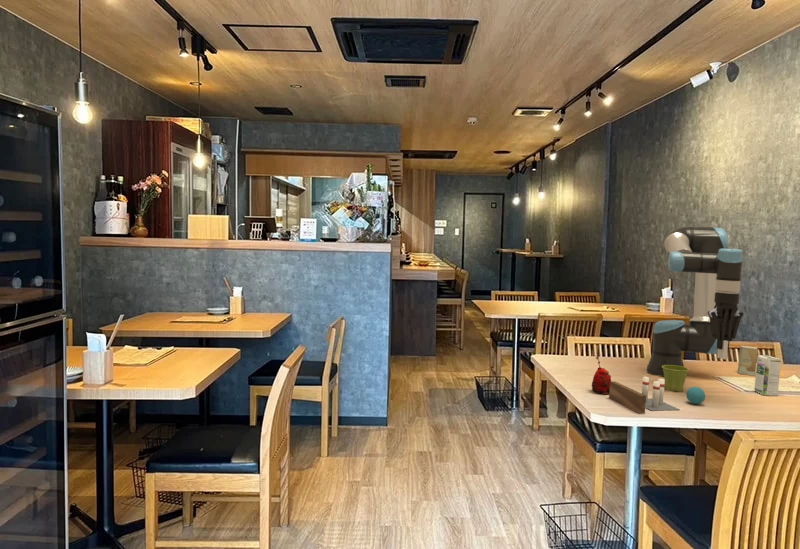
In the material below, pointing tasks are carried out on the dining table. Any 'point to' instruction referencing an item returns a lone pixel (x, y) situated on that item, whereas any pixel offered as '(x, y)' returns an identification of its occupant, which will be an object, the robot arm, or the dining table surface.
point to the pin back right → (645, 386)
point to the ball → (695, 395)
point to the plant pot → (674, 377)
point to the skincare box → (747, 360)
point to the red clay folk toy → (601, 380)
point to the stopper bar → (627, 397)
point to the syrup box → (767, 375)
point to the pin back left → (655, 394)
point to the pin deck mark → (659, 406)
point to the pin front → (661, 391)
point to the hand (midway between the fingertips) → (721, 358)
